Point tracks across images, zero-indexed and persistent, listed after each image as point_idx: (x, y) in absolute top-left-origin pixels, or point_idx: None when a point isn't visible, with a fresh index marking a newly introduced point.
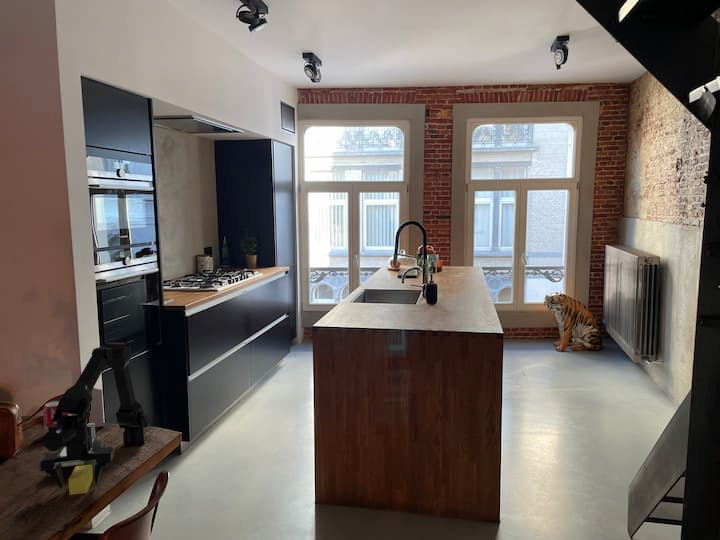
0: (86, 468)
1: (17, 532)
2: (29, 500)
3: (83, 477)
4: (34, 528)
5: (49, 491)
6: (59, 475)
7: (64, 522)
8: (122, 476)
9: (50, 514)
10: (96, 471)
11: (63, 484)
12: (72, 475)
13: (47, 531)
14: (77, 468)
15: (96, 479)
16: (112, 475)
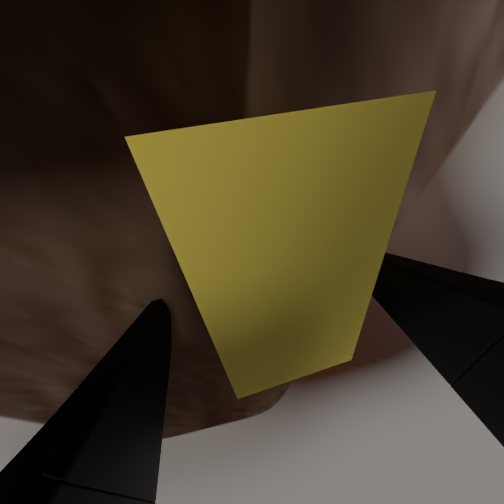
0: (350, 240)
1: (177, 434)
2: (19, 356)
3: (337, 364)
4: (212, 418)
5: (52, 278)
6: (143, 463)
7: (277, 392)
8: (478, 103)
9: (219, 385)
10: (455, 376)
11: (159, 312)
12: (242, 366)
13: (251, 414)
14: (221, 239)
15: (384, 298)
16: (431, 63)
